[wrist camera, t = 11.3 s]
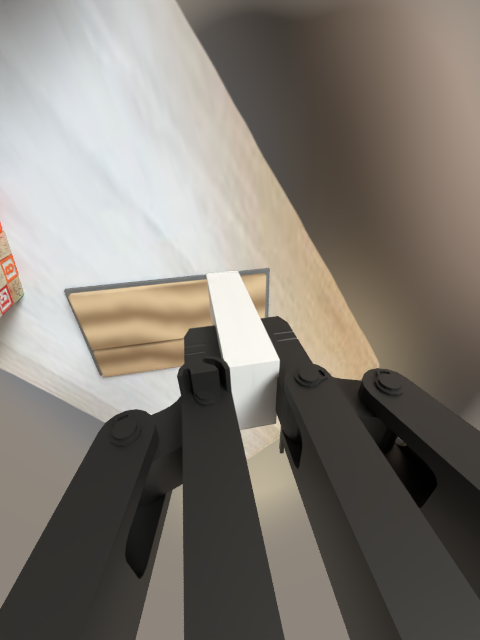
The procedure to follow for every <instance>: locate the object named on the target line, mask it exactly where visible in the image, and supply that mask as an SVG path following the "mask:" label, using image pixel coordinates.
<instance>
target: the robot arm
mask: <svg viewBox="0 0 480 640" xmlns="http://www.w3.org/2000/svg"><path fill="white" fill-rule="evenodd" d="M206 276H207V285H208V295H209V304H210V314H211V323H212V326H205V327H197V328H189V330H188V331H187V333H186V335H185V336H184V364H183V366H182V367H181V368H180V369H179V372H178V375H177V378H178V383H179V387H180V392H181V397H180V398H179V399H178V400H177V401H176V402H175V403H174V404H173V405H171V406H170V407H168V408H166V409H164V410H162V411H160V412H158V413H155V414H153V415H150V414H148V413H147V412H146V411H142V410H137V409H136V410H128V411H125V412H122V413H120V414H117V415H115V416H114V417H113V418H111V419H110V420H109V421H107V422H106V423H105V425H104V426H103V427H102V428H101V430H100V431H99V432H98V434H97V436H96V438H95V440H94V441H93V443H92V445H91V447H90V449H89V450H88V452H87V454H86V456H85V458H84V459H83V461H82V463H81V465H80V467H79V468H78V470H77V472H76V474H75V476H74V477H73V479H72V481H71V483H70V485H69V487H68V488H67V490H66V492H65V494H64V495H63V497H62V499H61V501H60V503H59V504H58V506H57V508H56V510H55V512H54V513H53V515H52V517H51V519H50V521H49V522H48V524H47V526H46V528H45V530H44V531H43V533H42V535H41V537H40V539H39V541H38V542H37V544H36V546H35V548H34V549H33V551H32V553H31V555H30V557H29V558H28V560H27V562H26V564H25V566H24V567H23V569H22V571H21V573H20V575H19V576H18V578H17V580H16V582H15V584H14V585H13V587H12V589H11V591H10V593H9V595H8V596H7V598H6V600H5V602H4V604H3V605H2V607H1V609H0V640H135V639H136V635H137V631H138V627H139V623H140V619H141V614H142V611H143V607H144V603H145V599H146V595H147V590H148V587H149V583H150V578H151V574H152V570H153V566H154V562H155V558H156V554H157V550H158V546H159V541H160V538H161V534H162V530H163V526H164V521H165V518H166V514H167V509H168V506H169V501H170V497H171V493H172V490H173V489H175V488H176V487H178V486H180V485H181V484H183V549H184V551H183V554H184V640H285V639H284V634H283V630H282V625H281V620H280V616H279V611H278V606H277V602H276V597H275V592H274V587H273V583H272V578H271V573H270V569H269V564H268V559H267V555H266V550H265V545H264V541H263V536H262V531H261V527H260V522H259V517H258V513H257V508H256V503H255V499H254V494H253V489H252V485H251V480H250V476H249V471H248V466H247V461H246V456H245V452H244V447H243V442H242V438H241V433H240V430H243V429H248V428H254V427H259V426H265V425H270V424H276V414H277V416H278V418H279V421H280V424H281V432H280V446H279V448H280V453H283V452H284V448H285V451H286V454H287V457H288V460H289V463H290V466H291V469H292V472H293V475H294V478H295V480H296V483H297V486H298V489H299V492H300V495H301V498H302V501H303V504H304V507H305V510H306V513H307V515H308V518H309V521H310V524H311V527H312V530H313V533H314V536H315V539H316V542H317V545H318V547H319V550H320V553H321V556H322V559H323V562H324V565H325V568H326V571H327V574H328V577H329V579H330V582H331V585H332V588H333V591H334V594H335V597H336V600H337V603H338V606H339V608H340V611H341V614H342V617H343V620H344V623H345V626H346V629H347V632H348V635H349V638H350V640H480V431H479V430H477V429H476V428H474V427H473V426H472V425H470V424H469V423H468V422H466V421H465V420H463V419H462V418H461V417H459V416H458V415H456V414H455V413H454V412H453V411H451V410H450V409H448V408H447V407H446V406H444V405H443V404H442V403H440V402H439V401H437V400H436V399H435V398H433V397H432V396H431V395H429V394H428V393H427V392H425V391H424V390H422V389H421V388H420V387H418V386H417V385H416V384H414V383H413V382H411V381H410V380H409V379H407V378H406V377H404V376H402V375H401V374H399V373H397V372H394V371H391V370H388V369H379V368H377V369H372V370H369V371H367V372H366V373H365V374H364V376H363V378H362V381H359V380H349V379H340V378H334V377H332V376H331V375H330V374H329V373H328V372H327V371H326V369H324V368H322V367H320V366H319V365H316V364H313V363H312V361H311V360H310V358H309V357H308V355H307V353H306V352H305V350H304V348H303V347H302V345H301V344H300V342H299V340H298V339H297V337H296V335H295V334H294V332H292V329H291V327H290V326H289V324H288V323H287V322H286V321H285V320H283V319H282V318H280V317H279V316H276V317H268V318H260V317H259V315H258V313H257V310H256V308H255V306H254V304H253V302H252V300H251V298H250V296H249V294H248V291H247V289H246V287H245V285H244V283H243V281H242V279H241V277H240V274H239V272H238V271H229V272H219V273H209V274H206ZM398 437H399V438H400V439H401V440H402V441H401V440H400V439H399V438H398Z"/></svg>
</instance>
